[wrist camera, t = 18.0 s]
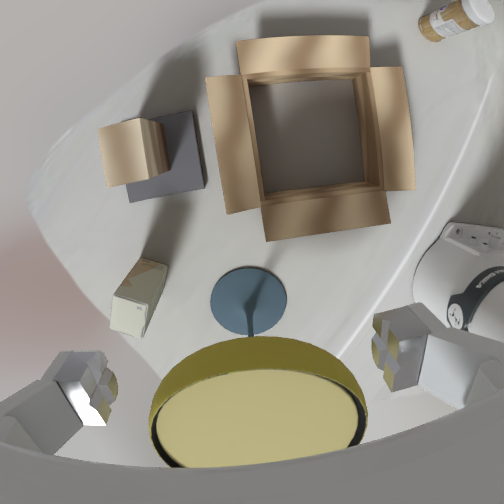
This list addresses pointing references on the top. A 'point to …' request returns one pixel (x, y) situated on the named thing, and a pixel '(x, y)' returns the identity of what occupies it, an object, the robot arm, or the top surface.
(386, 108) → the carton
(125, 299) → the box
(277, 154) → the top surface
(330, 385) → the cocktail glass
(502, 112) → the top surface
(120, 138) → the block
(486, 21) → the sprinkles bottle
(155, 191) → the mat
